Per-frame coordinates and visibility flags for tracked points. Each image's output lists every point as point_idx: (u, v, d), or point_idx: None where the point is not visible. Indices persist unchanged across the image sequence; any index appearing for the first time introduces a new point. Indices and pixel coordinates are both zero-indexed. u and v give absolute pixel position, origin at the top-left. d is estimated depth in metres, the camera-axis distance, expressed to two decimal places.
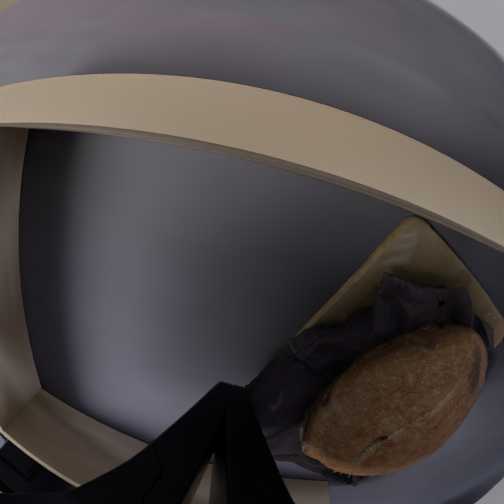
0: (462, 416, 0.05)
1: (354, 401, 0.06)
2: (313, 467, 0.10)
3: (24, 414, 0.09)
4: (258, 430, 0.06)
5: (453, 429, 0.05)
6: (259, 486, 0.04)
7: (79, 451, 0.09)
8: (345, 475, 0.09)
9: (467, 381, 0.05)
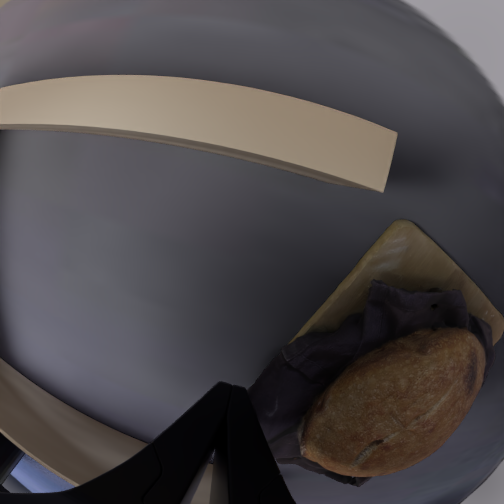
0: (459, 417, 0.05)
1: (347, 406, 0.06)
2: (317, 469, 0.10)
3: None
4: (259, 431, 0.06)
5: (451, 430, 0.05)
6: (260, 486, 0.04)
7: (4, 399, 0.09)
8: (349, 476, 0.09)
9: (462, 384, 0.06)
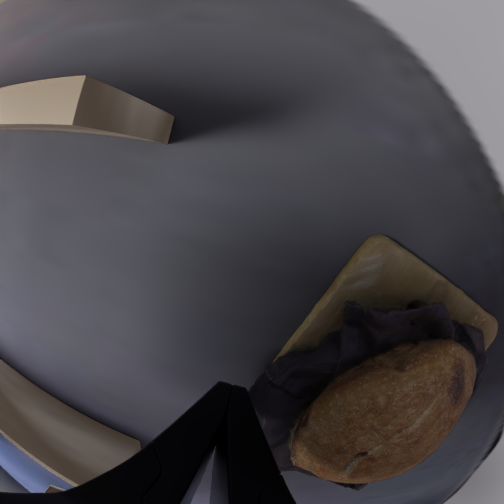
0: (447, 427, 0.06)
1: (329, 422, 0.06)
2: None
3: None
4: (259, 431, 0.06)
5: (439, 440, 0.06)
6: (260, 486, 0.04)
7: None
8: None
9: (447, 396, 0.06)
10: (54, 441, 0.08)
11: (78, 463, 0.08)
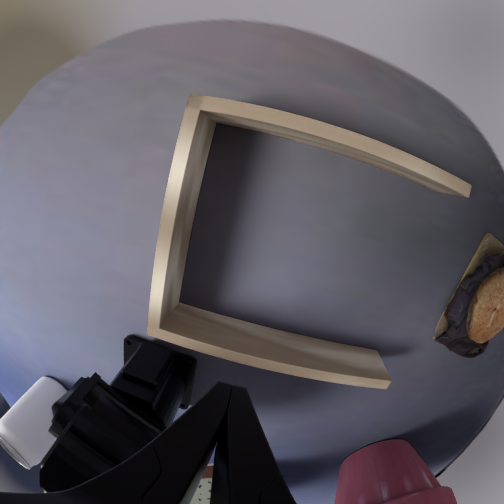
0: None
1: (484, 297, 0.16)
2: (462, 352, 0.20)
3: (173, 317, 0.18)
4: (259, 431, 0.06)
5: None
6: (260, 486, 0.04)
7: (225, 332, 0.18)
8: (475, 353, 0.19)
9: None
10: (342, 361, 0.18)
11: (364, 367, 0.17)
